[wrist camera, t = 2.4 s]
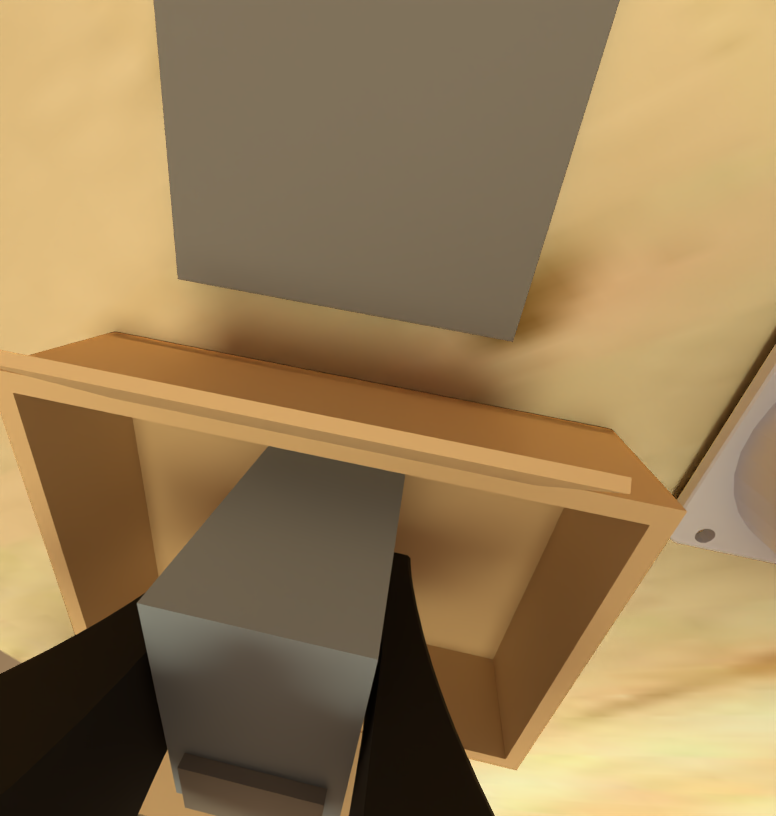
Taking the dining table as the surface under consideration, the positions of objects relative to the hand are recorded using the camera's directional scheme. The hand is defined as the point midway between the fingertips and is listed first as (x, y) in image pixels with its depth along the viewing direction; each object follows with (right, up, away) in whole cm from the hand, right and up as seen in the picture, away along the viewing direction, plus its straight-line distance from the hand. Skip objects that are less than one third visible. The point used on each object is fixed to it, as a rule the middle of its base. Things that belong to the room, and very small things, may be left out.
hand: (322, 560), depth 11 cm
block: (0, +1, +1) cm, 1 cm away
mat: (+2, +12, -3) cm, 12 cm away
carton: (0, +1, +2) cm, 2 cm away
